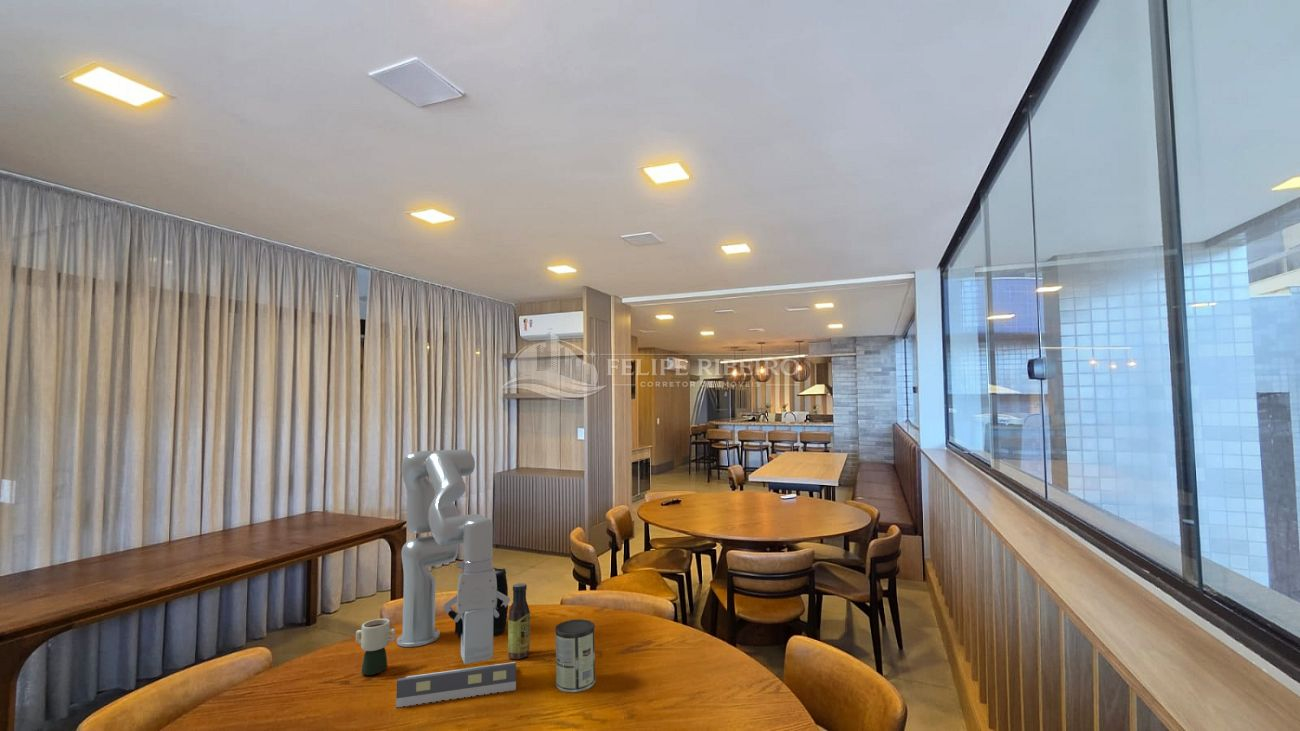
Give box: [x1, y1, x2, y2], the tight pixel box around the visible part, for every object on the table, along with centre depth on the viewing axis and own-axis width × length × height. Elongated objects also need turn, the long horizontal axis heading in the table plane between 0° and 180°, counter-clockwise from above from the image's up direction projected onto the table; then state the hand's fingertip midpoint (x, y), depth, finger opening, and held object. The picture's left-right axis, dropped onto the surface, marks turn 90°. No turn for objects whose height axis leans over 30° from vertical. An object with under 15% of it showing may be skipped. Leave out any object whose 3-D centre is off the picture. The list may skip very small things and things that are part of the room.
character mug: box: [355, 618, 396, 676], centre depth 146 cm, size 11×7×13 cm, turn 91°
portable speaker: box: [493, 567, 509, 637], centre depth 174 cm, size 9×9×20 cm
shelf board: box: [395, 661, 517, 709], centre depth 135 cm, size 12×28×2 cm, turn 105°
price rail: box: [395, 662, 517, 699], centre depth 131 cm, size 1×28×4 cm, turn 105°
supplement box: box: [460, 608, 494, 665], centre depth 139 cm, size 7×7×13 cm
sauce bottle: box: [507, 582, 531, 660], centre depth 155 cm, size 7×6×20 cm
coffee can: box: [554, 618, 596, 693], centre depth 137 cm, size 10×10×14 cm
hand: (477, 633), depth 139 cm, fingers closed on supplement box, 8 cm apart
